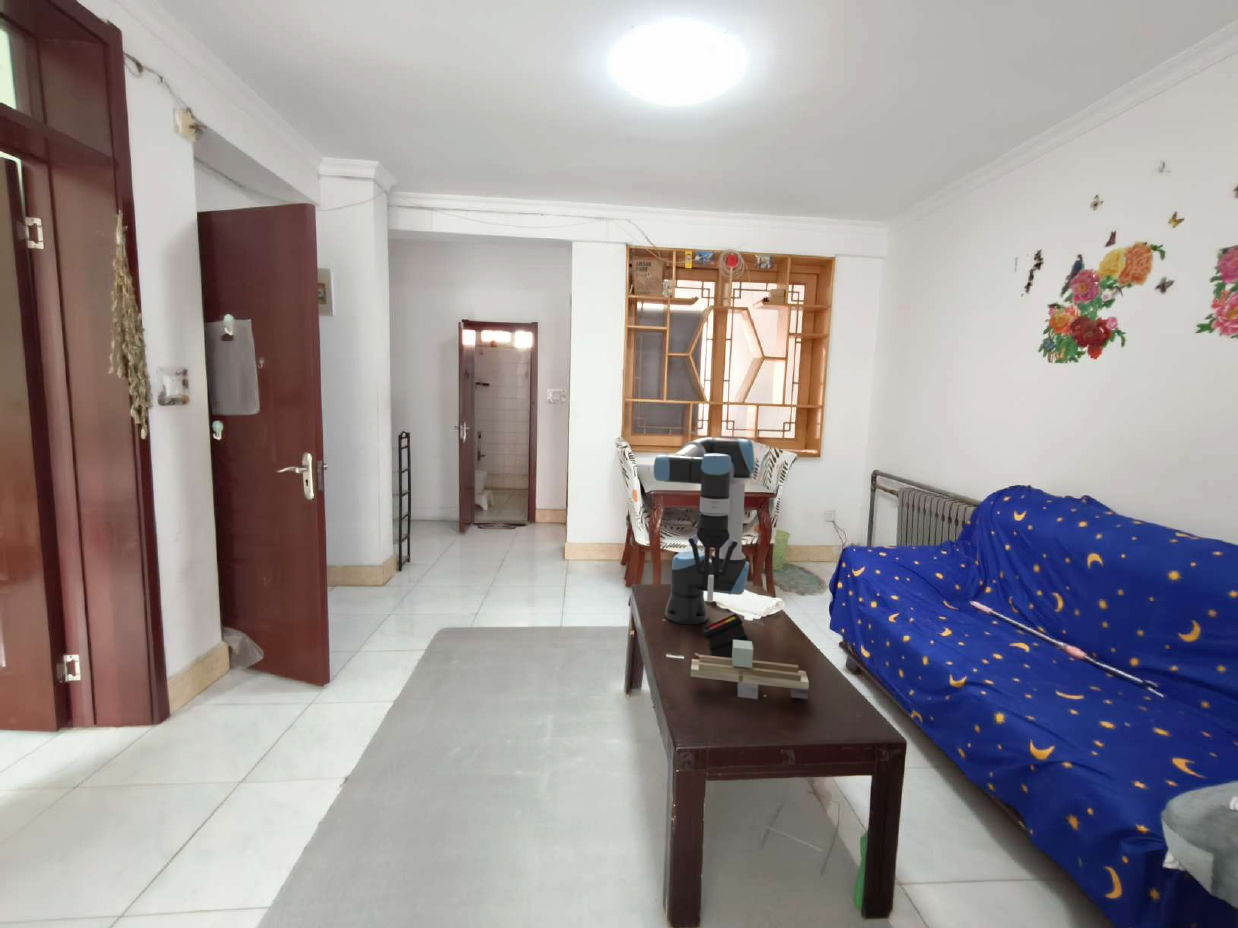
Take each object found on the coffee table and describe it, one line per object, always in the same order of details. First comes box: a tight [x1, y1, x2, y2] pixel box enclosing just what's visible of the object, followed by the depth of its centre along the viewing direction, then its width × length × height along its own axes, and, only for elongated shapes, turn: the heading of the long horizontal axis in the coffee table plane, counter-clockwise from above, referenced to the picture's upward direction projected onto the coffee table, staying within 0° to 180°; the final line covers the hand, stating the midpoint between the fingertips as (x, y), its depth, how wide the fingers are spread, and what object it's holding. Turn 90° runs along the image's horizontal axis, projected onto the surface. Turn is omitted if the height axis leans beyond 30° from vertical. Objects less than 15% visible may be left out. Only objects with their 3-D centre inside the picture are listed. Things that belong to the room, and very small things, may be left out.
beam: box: [690, 654, 810, 700], centre depth 144 cm, size 6×30×8 cm, turn 80°
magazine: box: [702, 613, 749, 658], centre depth 159 cm, size 4×13×15 cm, turn 92°
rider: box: [732, 640, 754, 668], centre depth 144 cm, size 5×5×7 cm
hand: (709, 599), depth 144 cm, fingers closed
